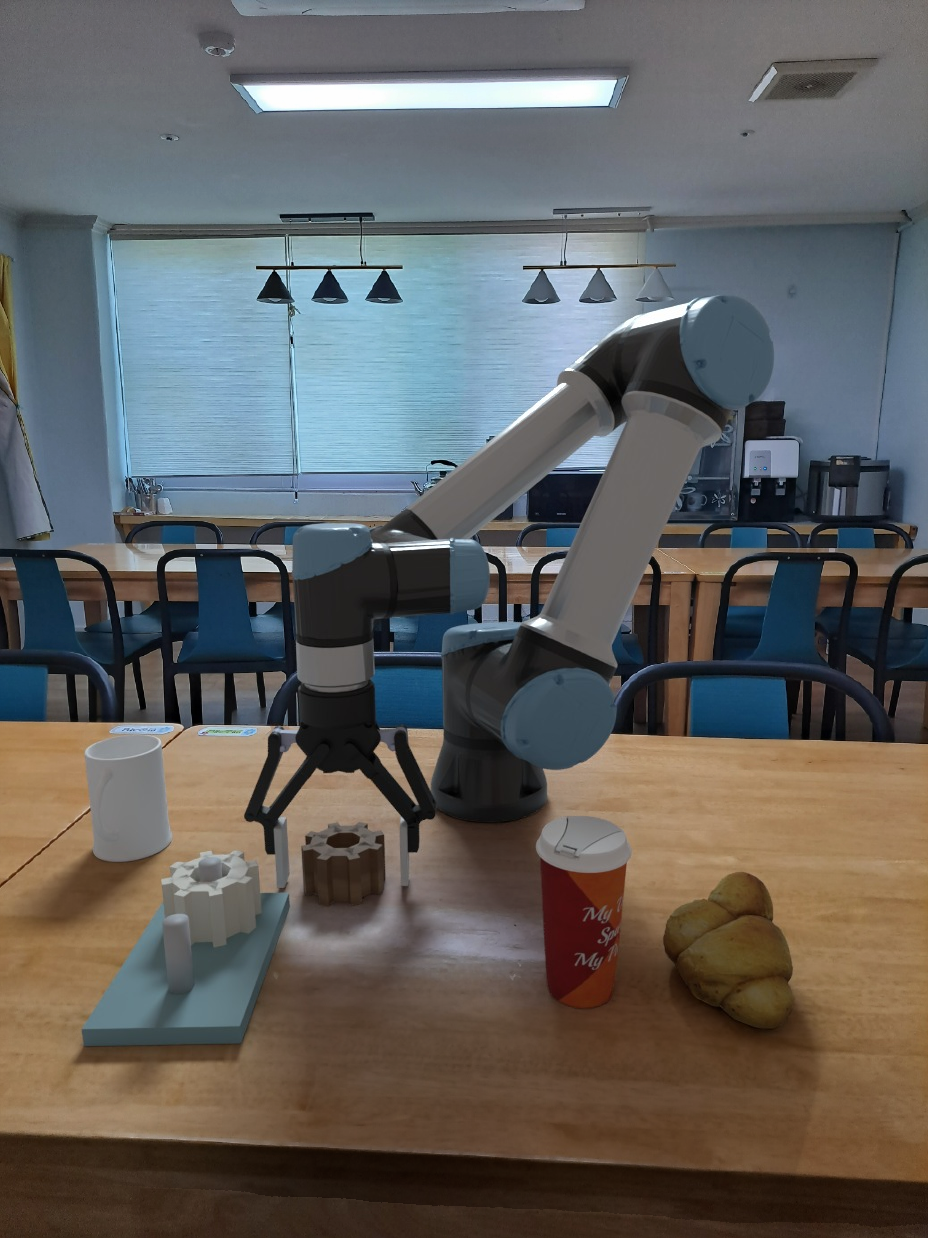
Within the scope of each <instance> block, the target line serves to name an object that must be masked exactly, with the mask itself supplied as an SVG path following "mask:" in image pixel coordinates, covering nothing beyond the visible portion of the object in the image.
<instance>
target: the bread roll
mask: <svg viewBox="0 0 928 1238" xmlns="http://www.w3.org/2000/svg"><path fill="white" fill-rule="evenodd" d="M773 921H774V904H773V900H772V897H771V895H770V892H769V890H768V888H767V886H766V885H765V883H764V882H763V881H761V879H759V878H758V877H757V876H755V875H753V874H751V873H750V872H746V871H736V872H733V873H728V874H727V875H726V876H724V877H723V878H721V880H720V881H719V883H718V884H717V885H716V887H714V889H713V890H711V892H710V893H709V896H708V898H707V899H705V898H702V899H694V900H693V901H691V902H687V903H684V904H682V905H680V906H678V907H677V908H675V909H674V911H673V912H672V913H671V914H670V915H669V917H668V919H667V920H666V923H665V928H664V933H663V937H662V944H663V947H664V952H665V954H666V955H667V957H668V958H669V959H670V961H672V962H673V963H674V965H676V969H677V971H678V973H679V975H680V977H681V979H682V980H683V982H684V983H685V984H686V987H688V989H689V991H690V993H691V994H692V995H693V996H694V997H695V999H698V1000H701V1001H703V1002H704V1003H705V1004H708V1005H710V1006H713V1007H716V1008H717V1007H720V1008H722V1010H723V1011H724V1012H725V1013H727V1014H728V1016H730V1017H731V1018H732V1019H734V1020H735V1021H738V1022H741V1023H743V1024H746V1025H749V1026H751V1027H753V1028H758V1029H764V1030H767V1029H775V1028H779V1027H780V1026H782V1025H783V1024H784V1023H785V1021H787V1020H788V1018H789V1016H790V1015H791V1013H792V1010H793V1007H794V1003H795V997H794V995H793V991H792V988H791V985H790V984H789V982H790V980H791V979H792V977H793V973H794V971H793V970H794V966H793V961H792V955H791V951H790V948H789V944H788V941H787V939H786V937H785V934H784V933H783V931H782V929H781V928H780V927H779V926H777V925H776V924H775V923H774V922H773Z"/></svg>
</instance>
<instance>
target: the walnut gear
mask: <svg viewBox="0 0 928 1238" xmlns="http://www.w3.org/2000/svg"><path fill="white" fill-rule="evenodd" d="M304 841H305V842H304V843H305V844H304V845H301V846H300V847H301V864H302V865H301V868H302V884H303V886H302V887H303V892H304V894H305V896H306V897H307V896H311V895H315V896H318V905H322V906H325V907H330V905H332V904H333V903H335V902H336V903H337V902H349V905H350V907H352V906H357V905H361V904H362V903H363V902H362V901H363V899H362V898H363V897H366V896H367V895H370V894H374V895H380V894H381V893H382V892H383V891H384V890H385V884H384V883H385V880H384V879H386V875H387V874H386V851H385V850H386V847H385V845H386V844H385V843H386V842H385V834H384V832H383V831H382V830H381V829H379V830H374V831H372V830H371V829H369V825H368V823H367V822H362V821H358V822H357V823H355V824H352V825H340V823H339V822H338V821H336V822H332V823H328V824H327V828H326V829H323V830H321V831H317V832H316V831H311V830H310V831H309V832H308V833H306V834H305V835H304Z"/></svg>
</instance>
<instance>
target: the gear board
mask: <svg viewBox="0 0 928 1238" xmlns="http://www.w3.org/2000/svg"><path fill="white" fill-rule="evenodd" d="M198 866H199V878H200V882H213V881H216V880H218V879H221V878H222V866H221V859H220V858H218V857H208V858H204V859H202V860H201V861H200V862H199V863H198ZM260 896H261V911H262V914H258V915H255V919H256V928H255V929H254V930H252V931H251V932H250V933H249V934H247V933H243V932H239V933H237V934H235V935H233V936H231V937H228V938H226V944H227V945H223V946H218V947H213V942H195V943H194V944H193V945H191V940H190V929H189V918H188V916H187V915H185V914H174V915H170V916H168V917H167V918H165V915H164V904H163V901H162V902H161V904H160V905H159V907H158V909H157V910H156V912H155V914H154V915H153V917H152V918H151V920H150V921H149V923H148V924H147V926H146V928H145V929H144V930H143V932H142V934H141V935H140V937H139V939H138V940H137V942H136V943H135V945H134V947H133V948H132V950H131V951H130V952H129V954H128V955H127V957H126V959H124V962H123V964H122V966H120V968H119V970H118V971H117V973H116V974H115V976H114V978H113V979H112V980H111V983H110V984H109V986H108V987H107V988H106V990H105V992H104V993H103V995H102V997H101V998H100V1000H99V1001H98V1003H97V1004H96V1006H95V1007H94V1009H93V1010H92V1012H91V1014H90V1015H89V1017H88V1019H87V1020H86V1022H85V1023H84V1024H83V1026H82V1027H81V1034H82V1043H83V1044H82V1045H83V1047H106V1046H107V1047H110V1046H111V1047H114V1046H115V1047H117V1046H121V1047H123V1046H163V1045H164V1046H166V1045H167V1046H170V1045H171V1046H172V1045H173V1046H174V1045H218V1044H219V1045H224V1044H226V1045H228V1044H232V1045H233V1044H242V1042H243V1040H244V1036H245V1034H246V1030H247V1028H248V1025H249V1022H250V1019H251V1017H252V1014H253V1011H254V1009H255V1005H256V1003H257V1000H258V998H259V994H260V992H261V989H262V986H263V983H264V980H265V977H266V974H267V972H268V968H269V966H270V963H271V960H272V957H273V954H274V952H275V949H276V946H277V944H278V941H279V937H280V935H281V931H283V930H282V929H283V926H284V925H285V920H286V917H287V915H288V913H289V910H290V907H291V905H290V902H291V901H290V892H260Z"/></svg>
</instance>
